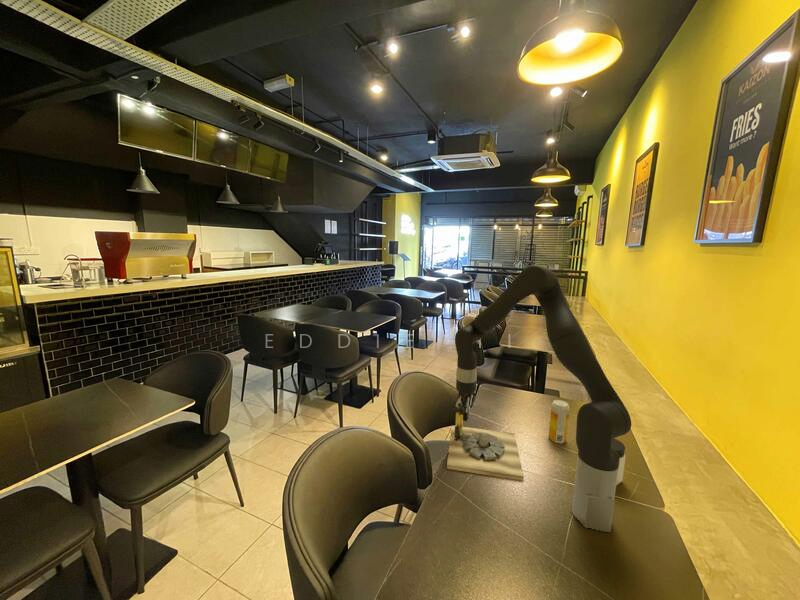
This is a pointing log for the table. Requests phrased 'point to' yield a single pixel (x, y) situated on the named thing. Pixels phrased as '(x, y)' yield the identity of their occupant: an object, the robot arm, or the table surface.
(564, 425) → the orange white canister
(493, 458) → the flange
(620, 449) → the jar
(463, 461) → the base
